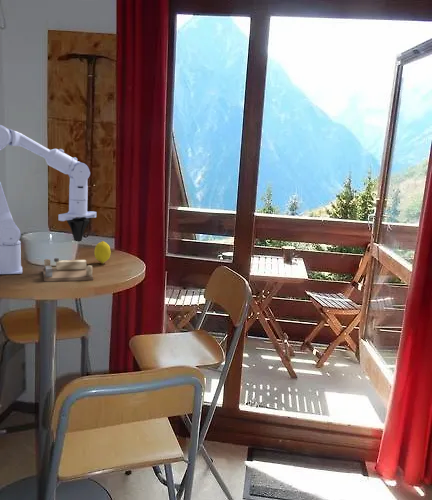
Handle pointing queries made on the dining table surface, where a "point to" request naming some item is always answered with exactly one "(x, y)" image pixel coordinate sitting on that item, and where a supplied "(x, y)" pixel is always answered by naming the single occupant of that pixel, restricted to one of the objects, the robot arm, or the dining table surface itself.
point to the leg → (70, 264)
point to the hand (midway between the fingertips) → (77, 240)
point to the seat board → (66, 273)
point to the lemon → (102, 252)
